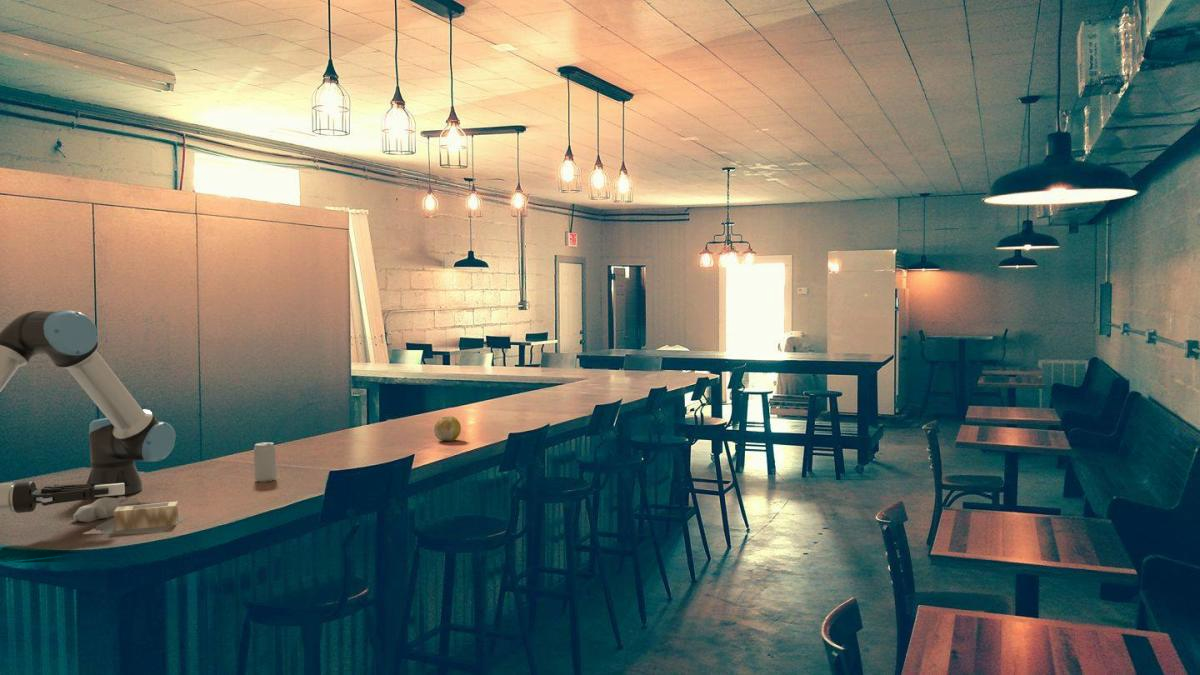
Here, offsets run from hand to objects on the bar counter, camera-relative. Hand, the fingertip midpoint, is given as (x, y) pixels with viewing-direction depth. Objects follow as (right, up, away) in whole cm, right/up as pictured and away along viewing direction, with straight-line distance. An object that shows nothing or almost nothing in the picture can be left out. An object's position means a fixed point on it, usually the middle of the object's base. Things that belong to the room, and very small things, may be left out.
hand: (124, 488), depth 216 cm
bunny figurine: (-12, -10, +13) cm, 21 cm away
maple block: (-2, -8, 0) cm, 8 cm away
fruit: (+61, -3, +123) cm, 137 cm away
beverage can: (+14, -7, +55) cm, 58 cm away
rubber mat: (+2, -10, +2) cm, 11 cm away
